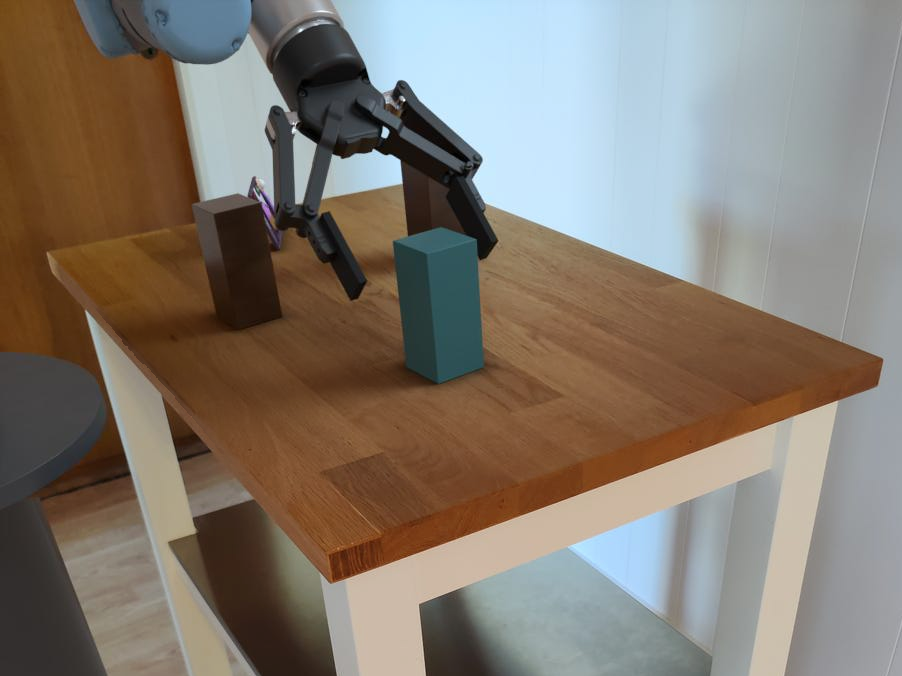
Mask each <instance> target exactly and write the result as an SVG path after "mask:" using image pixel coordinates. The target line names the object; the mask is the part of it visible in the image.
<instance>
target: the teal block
mask: <svg viewBox="0 0 902 676" xmlns="http://www.w3.org/2000/svg"><path fill="white" fill-rule="evenodd" d="M392 248H393V257H394V266H395V275H396V276H395V277H396V284H397V285H396V286H397V294H398V303H399V312H400V313H399V314H400V323H401V330H402V340H403V348H404V350H403V351H404V358H405V367H406V369H409V370H411V371H413V372H414V373H416V374H418V375H420V376H422V377H424V378H426V379H428V380H430V381H432V382H433V383H435V384H438V385H440V384H442V383H445V382H447V381H450V380H453V379H455V378H458V377H461V376H464V375H467V374H470V373H473V372H475V371H478V370H481V369H484V368H485V360H484V344H483V343H484V342H483V328H482V326H483V325H482V309H481V291H480V290H481V289H480V274H479V272H480V271H479V258H478V254H477V239H474V238H471V237H468V236H466V235H463V234H460V233H457V232H454V231H451V230H448V229H445V228H442V227H440V228H437V229H433V230H429V231H426V232H422V233H419V234H415V235H411V236H408V235H407V236H404V237H401V238H397V239H394V240H392Z"/></svg>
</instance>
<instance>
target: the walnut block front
mask: <svg viewBox="0 0 902 676" xmlns="http://www.w3.org/2000/svg"><path fill="white" fill-rule="evenodd" d="M261 202H262V201H261ZM261 202H259V201H256V200H254V199H251V198H249V197H248V196H246V195H244V194H241V193H233V194H229V195H225V196H224V195H223V196H220V197H217V198H212V199H208V200H202V201H199V202H195V203H194V202H193V203H191V209H192V213H193V217H194V223H195V226H196V231H197V235H198V239H199V244H200V248H201V254H202V257H203V263H204V266H205V271H206V275H207V279H208V283H209V288H210V292H211V297H212V301H213V306H214V311H215V315H216V318H217V319H219V320H221V321H222V322H224V323H226V324H228V325H229V326H231V327H232V328H234V329H236V330H243V329H246V328H250V327H253V326H256V325H259V324H263V323H265V322H270V321H273V320H276V319H279V318H282V317H283V311H282V306H281V301H280V296H279V290H278V285H277V278H276V273H275V268H274V264H273V257H272V253H271V246H270V242H269V241H270V240H269V235H268V233H267V230H266V224H265V219H264V214H263V208H262V203H261Z"/></svg>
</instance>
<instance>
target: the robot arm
mask: <svg viewBox="0 0 902 676" xmlns="http://www.w3.org/2000/svg"><path fill="white" fill-rule="evenodd" d="M73 2H74V4H75V7H76V9H77V11H78V14H79V17H80V19H81V22H82V23H83V25H84V27H85V29H86V32H87V33H88V35H89V37H90V39H91V41H92V42H93V44H94V46H95V48H96V49H97V50H98V51H99V53H100V54H101V55H102V56H104V57H105V58H108V59H113V60H115V59H119V58H123V57H126V56H129V55H134V56H137V55H140V54H141V52H142V51H145V50H148V49H151V48H153V49H154V50H155V49H156V50H158V51H161V52H163V53H165V54H166V55H168V56H169V57H170V58H172V59H173V60H175V61H177V62H179V63H182V64H190V65H216V64H218V63H221V62H224V61H226V60H228V59H229V58H231V57H232V56H234V55H235V54H236V53H237V52H238V51H240V49H241V47H242V45H243V44H244V42H245V41H246V38H247V36H248V35H249V37H250V39H251V41H252V42H253V44H254V46H255V48H256V49H257V51H258V53H259V56H260V57H261V59H262V61H263V63H264V65H265V66H266V68H267V70H268V71H269V73H270V74H271V75H272V79H273V82H274V84H275V86H276V87H277V89H278V92H279V93H280V95H281V97H282V99H283V101H284V103H285V104H286V106H287V108H288V110H289V111H285V110H284V108H283V107H281V106H279V105H276V104H274V105H272V106H270V108H269V113H268V114H267V115H268V116H267V119H266V124H265V126H264V133H265V136H266V139H267V140H268V144H269V146H270V148H271V150H272V151H271V152H272V153H271V154H272V181H273V183H272V184H273V205H274V217H273V219H274V226H275V228H276V229H277V230H278V229H279V230H281V231H283V232H285V231H288V230H289V229H295V234H296V235H297V237H299V238H301V239H307V241H308V242H309V245H310V246H311V248H312V250H313V252H314V253H315V255H316V258H317V259H318V261H320V262H321V264H323V265H325V264H329V263H330V266H331V267H332V269H333V271H334V273H335V275H336V278H337V279H338V280H339V282H340V284H341V286H342V288H343V290H344V291H345V294H346V295H347V297H348V299H349V301H350V302H353V301H356V300H359V298H360V297H361V295H362V292H363V291H364V289H365V287H366V285H367V283H368V280H367V277H366V275H365V273H364V272H363V270H362V268H361V266H360V264H359V262H358V261H357V259H356V257H355V256H354V254H353V252H352V250H351V248H350V245H349V244H348V242H347V241H346V239H345V237H344V235H343V233H342V231H341V230H340V228H339V225H338V224H337V222H336V220H335V219H334V216H333V215H332V213H331V210H330V211H329V210H328V211H325V212H321V214H319V210H320V207H321V203H322V199H323V194H324V190H325V186H326V182H327V178H328V174H329V169H330V166H331V161H332V157H333V156H335V157H340V159H341V160H345V159H350V158H351V157H353V156H354V155H356V154H359V155H365V154H370V153H373V151H376V152H378V153H380V154H381V155H383V156H392V157H394V158H396V159H397V160H399V161H400V160H401V161H403V162H404V163H406V164H408V165H409V166H411V167H413V168H414V169H416V170H418V171H419V172H421V173H423V174H424V175H426V176H428V177H430V178H431V179H433V180H435V181H436V182H438V183H440V184H441V185H443V186H445V187H446V188H448V189H450V190H449V191H448V193H447V195H446V199H447V201H448V203H449V204H450V206H451V208H452V210H453V212H454V214H455V215H456V217H457V219H458V221H459V223H460V225H461V226H462V228H463V230H464V232H465V234H466V236H468V237H471V238H474V239H477V254H478V261H482V260H486V259H487V258H488V257H489V256H490V254H491V253H492V251H493V249H495V247H496V246H497V244H498V242H499V239H498V237H497V234H496V233H495V231H494V230H493V228H492V226H491V224H490V222H489V220H488V219H487V216H486V215H485V211H486V210H487V207H486V203H485V200H484V199H483V198H482V195H481V194H480V192H479V190H478V188H477V186H476V184H475V183H474V180H473V179H474V178H475V175H476V174H477V172H478V170H479V169H480V167H481V165H482V164H483V161H484V158H483V157H482V155H481V154H480V153H479V152H478V150H476V149H475V148H473V147H472V146H471V145H470V144H469V143H468V142H467V141H465V139H463V138H462V137H461V136H460V135H459V134H458V133H457V132H455V130H454V129H452V128H451V127H450V126H449V125H447V123H445V122H444V121H443V120H442V119H441V118H440V117H439V116H438V115H436V114H435V113H434V112H433V111H432V110H431V109H430V108H428V106H426V105H425V104H424V103H423V102H422V101H420V99H419V98H418V96H417V95H416V93H415V92H414V90H413V89H412V87H411V86H410V85H409V83H408V82H407V81H405V80H403V79H399V80H397V81H396V84H395V86H394V88H393V89H391V90H388V91H384V92H380V90H378V89H377V88H376V87H375V86H374V85H373V83H372V82H371V79H370V75H369V72H368V68H367V65H366V63H365V61H364V58H363V57H362V55H361V53H360V51H359V50H358V48H357V46H356V43H354V40H353V39H352V37H351V35H350V33H349V32H348V30H347V29H345V25H344V21H343V19H342V18H341V16H340V14H339V12H338V10H337V9H336V7H335V5H334V3H333V2H332V0H73ZM384 128H385V129H387V130H388V134H387V136H386V137H383V136H382V135H383V131H384V130H383V129H384ZM297 131H298V133H300V134H301V135H303V136H304V137H305V138H307V139H309V141H311V142H313V143H314V144H315V145H316V146H315V151H314V155H313V159H312V162H311V167H310V172H309V176H308V180H307V184H306V187H305V192H304V196H303V200H302V204H297V203H296V184H295V158H294V157H295V156H294V155H295V153H294V139H295V137H296V133H297ZM450 171H451V172H453V175H452V174H451V173H450Z"/></svg>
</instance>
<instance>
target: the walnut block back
mask: <svg viewBox="0 0 902 676" xmlns="http://www.w3.org/2000/svg"><path fill="white" fill-rule="evenodd" d="M399 161H400V171H401V181H402V182H401V183H402V192H403V193H402V194H403V202H404V213H405V223H406V233H407V237H408V236H411V235H415V234H419V233H422V232H426V231H429V230H433V229H437V228H440V227H442V228H445V229H448V230H451V231H454V232H457V233H460V234H463V235H466V234H465V232H464V230H463V228H462V226H461V225H460V223H459V221H458V219H457V217H456V215H455V214H454V212H453V210H452V208H451V206H450V204H449V203H448V201H447V199H446V195H447V193H448V191H449V190H450V189H448V188H446V187H445V186H443V185H441V184H440V183H438V182H436V181H435V180H433V179H431V178H430V177H428V176H426V175H424V174H423V173H421V172H419V171H418V170H416V169H414V168H413V167H411V166H409V165H408V164H406V163H404V162H403V161H401V160H399ZM450 173H451V174H452V175H453V172H451V171H450Z"/></svg>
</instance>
